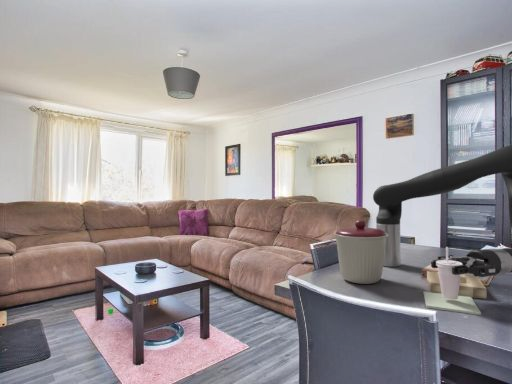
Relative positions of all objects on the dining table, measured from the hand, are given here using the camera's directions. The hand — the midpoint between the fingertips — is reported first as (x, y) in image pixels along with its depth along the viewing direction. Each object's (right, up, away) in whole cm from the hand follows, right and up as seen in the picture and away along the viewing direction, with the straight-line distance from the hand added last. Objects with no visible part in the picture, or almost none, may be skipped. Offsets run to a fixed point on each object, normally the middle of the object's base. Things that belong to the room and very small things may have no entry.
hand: (442, 267), depth 84 cm
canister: (-15, -10, +23) cm, 29 cm away
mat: (+2, -10, +1) cm, 10 cm away
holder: (+12, -10, +13) cm, 20 cm away
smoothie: (+2, -9, +1) cm, 9 cm away
